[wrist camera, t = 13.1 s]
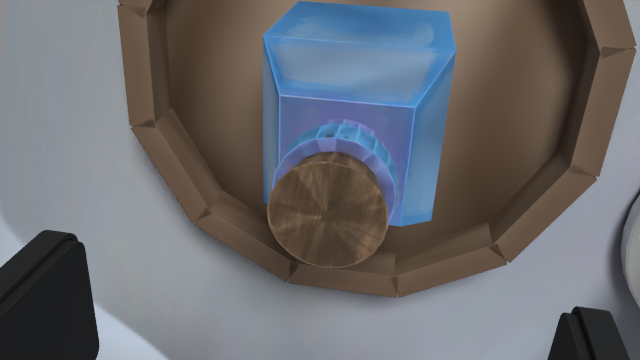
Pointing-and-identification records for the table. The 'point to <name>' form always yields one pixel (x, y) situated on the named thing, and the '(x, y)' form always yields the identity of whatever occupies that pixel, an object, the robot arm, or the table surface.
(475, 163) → the walnut tray
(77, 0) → the table surface
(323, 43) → the perfume bottle
